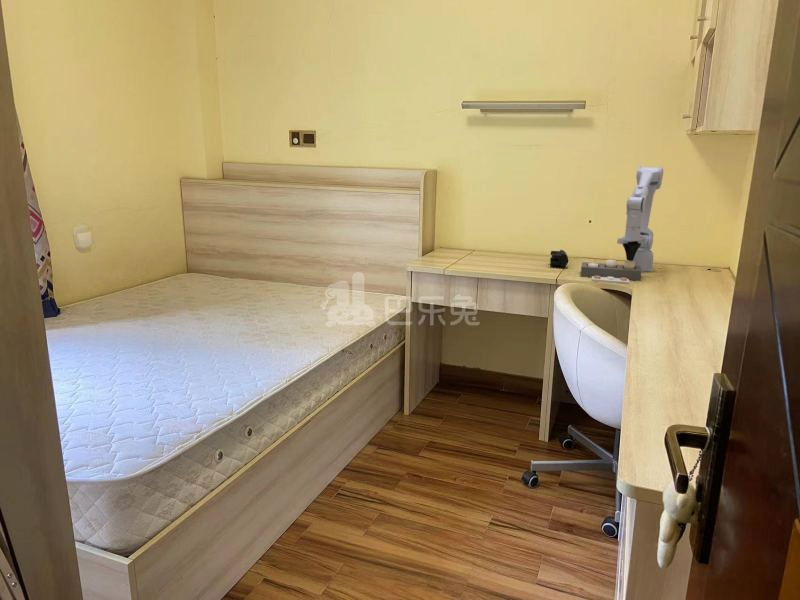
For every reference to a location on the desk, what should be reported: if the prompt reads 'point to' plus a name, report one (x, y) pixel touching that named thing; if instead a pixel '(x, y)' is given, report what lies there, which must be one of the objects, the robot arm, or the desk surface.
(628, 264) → the button
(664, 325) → the desk surface
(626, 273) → the grey slotted tray
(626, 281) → the pattern card
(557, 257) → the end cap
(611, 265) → the button
